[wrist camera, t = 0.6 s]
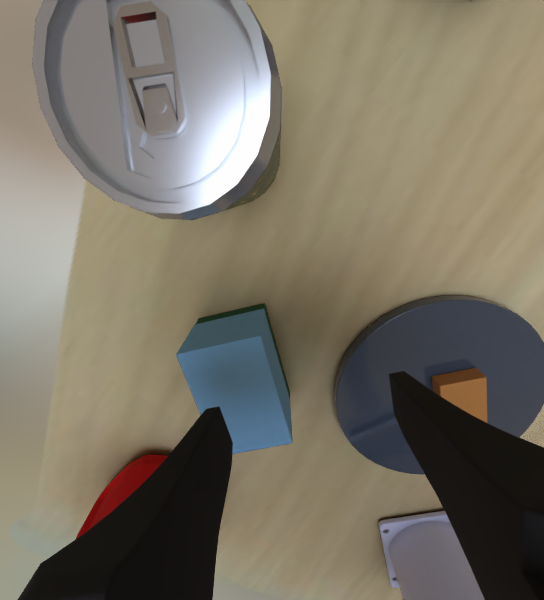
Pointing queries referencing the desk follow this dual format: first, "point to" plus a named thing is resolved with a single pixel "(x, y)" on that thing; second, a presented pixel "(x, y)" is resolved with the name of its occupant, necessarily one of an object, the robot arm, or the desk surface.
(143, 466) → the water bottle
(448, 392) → the orange cardboard box
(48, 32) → the beer can
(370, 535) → the desk surface
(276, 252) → the desk surface
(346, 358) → the plate
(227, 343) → the sponge
